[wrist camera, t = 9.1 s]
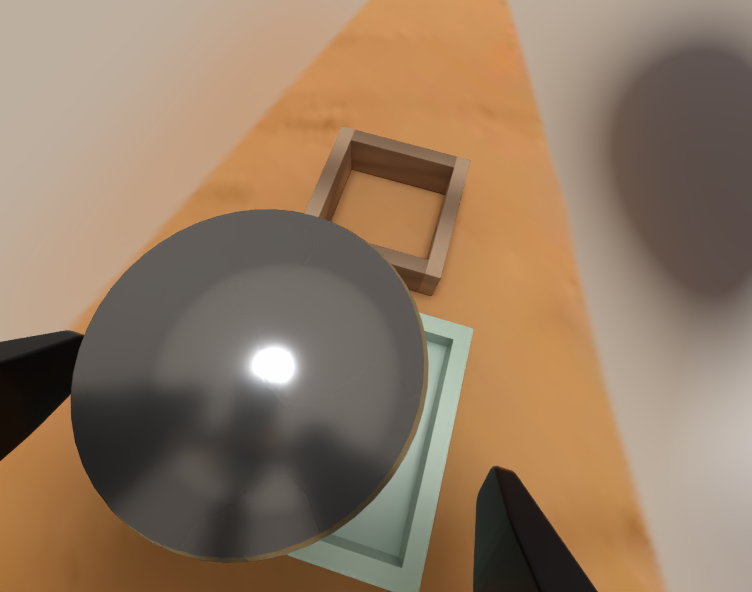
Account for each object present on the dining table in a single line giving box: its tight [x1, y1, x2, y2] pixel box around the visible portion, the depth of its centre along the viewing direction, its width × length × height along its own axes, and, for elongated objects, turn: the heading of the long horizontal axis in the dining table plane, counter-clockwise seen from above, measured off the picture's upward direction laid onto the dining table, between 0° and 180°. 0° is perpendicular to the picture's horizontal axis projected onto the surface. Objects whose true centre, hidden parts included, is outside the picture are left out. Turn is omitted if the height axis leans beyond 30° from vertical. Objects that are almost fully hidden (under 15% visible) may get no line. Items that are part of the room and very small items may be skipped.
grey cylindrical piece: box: [71, 209, 429, 563], centre depth 11 cm, size 5×5×13 cm
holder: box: [304, 127, 471, 296], centre depth 22 cm, size 8×8×2 cm
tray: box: [286, 313, 473, 592], centre depth 17 cm, size 11×11×2 cm
